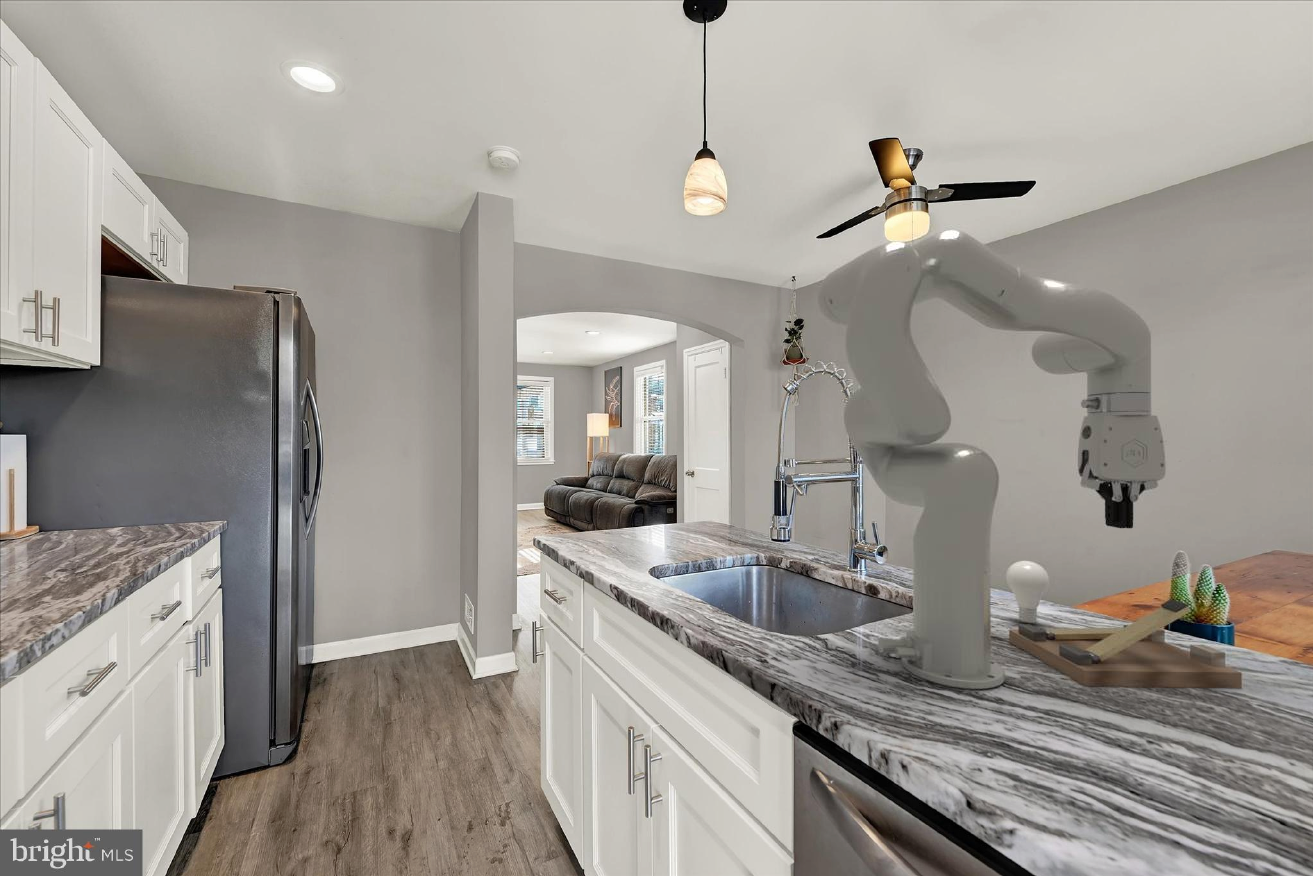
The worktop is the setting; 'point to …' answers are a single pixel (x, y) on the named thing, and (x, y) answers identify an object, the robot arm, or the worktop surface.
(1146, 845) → the worktop surface
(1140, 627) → the front bar
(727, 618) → the worktop surface
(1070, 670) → the board
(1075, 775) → the worktop surface
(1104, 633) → the back bar
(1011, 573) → the lightbulb
